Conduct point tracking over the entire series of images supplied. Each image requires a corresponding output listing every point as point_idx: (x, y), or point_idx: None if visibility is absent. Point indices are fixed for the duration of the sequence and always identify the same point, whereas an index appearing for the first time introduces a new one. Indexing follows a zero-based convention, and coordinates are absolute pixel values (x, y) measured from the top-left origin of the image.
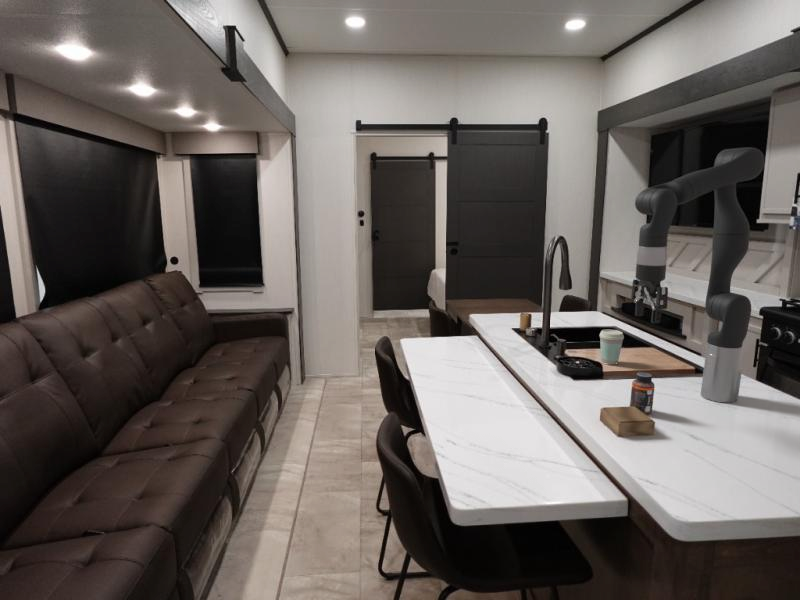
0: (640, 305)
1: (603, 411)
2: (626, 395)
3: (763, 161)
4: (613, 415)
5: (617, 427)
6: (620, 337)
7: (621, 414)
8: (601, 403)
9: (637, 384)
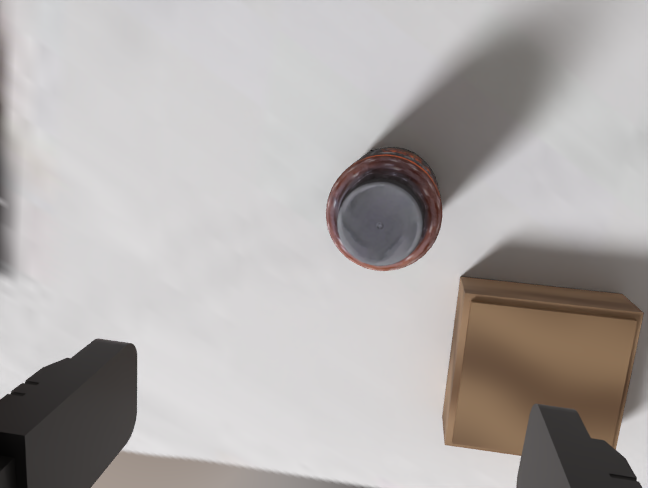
0: (48, 481)
1: (470, 446)
2: (207, 139)
3: None
4: None
5: None
6: None
7: None
8: (279, 308)
9: (401, 266)
